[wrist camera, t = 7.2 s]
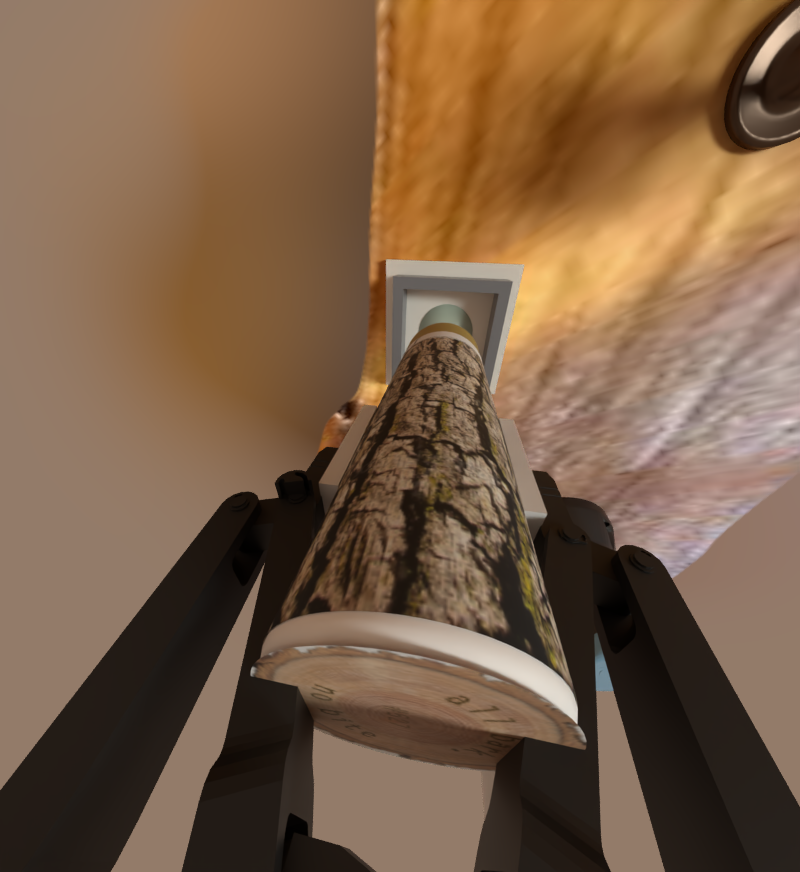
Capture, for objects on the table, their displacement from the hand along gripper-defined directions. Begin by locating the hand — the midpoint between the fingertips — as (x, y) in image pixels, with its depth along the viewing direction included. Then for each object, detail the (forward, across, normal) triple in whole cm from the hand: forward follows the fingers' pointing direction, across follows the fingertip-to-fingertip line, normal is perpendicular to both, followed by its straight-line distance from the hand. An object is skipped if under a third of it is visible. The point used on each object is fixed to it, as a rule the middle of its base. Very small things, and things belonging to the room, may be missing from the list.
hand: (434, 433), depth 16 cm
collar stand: (+26, 0, 0) cm, 26 cm away
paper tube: (+13, 0, 0) cm, 13 cm away
